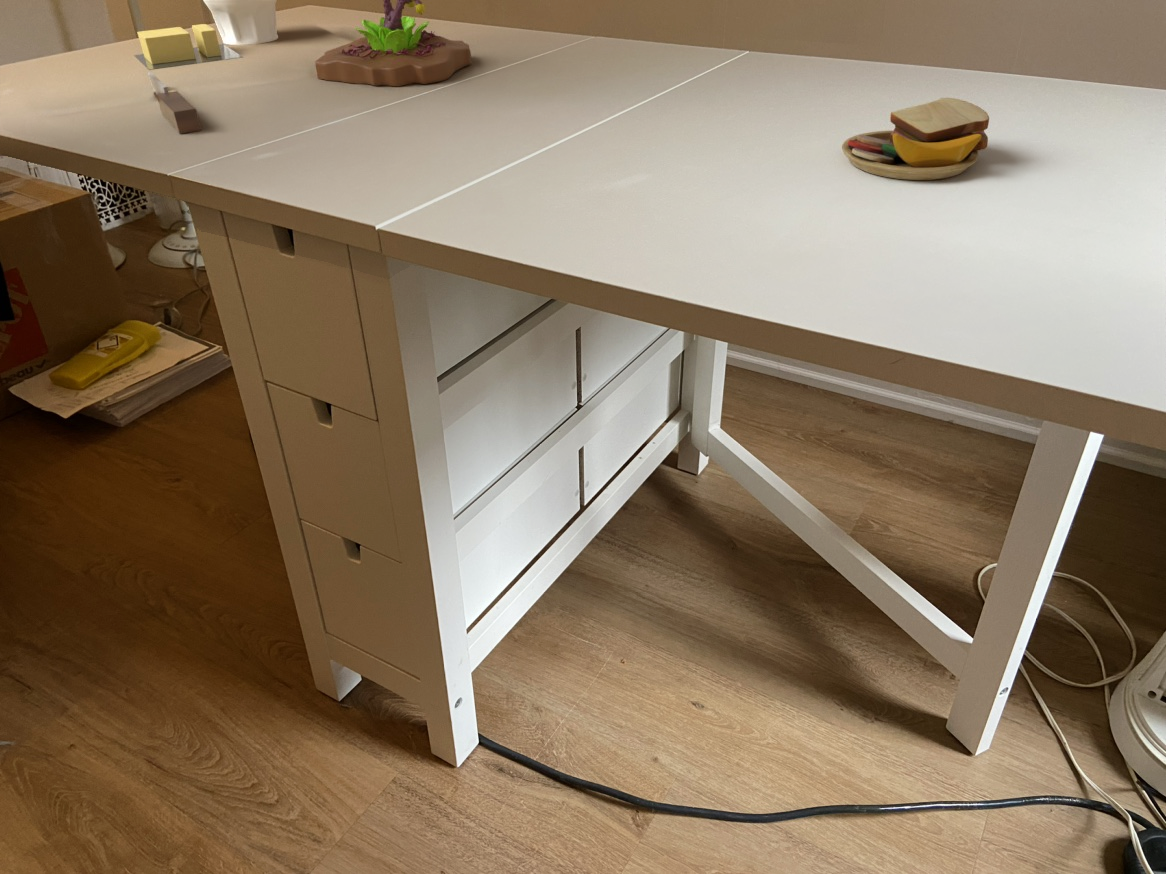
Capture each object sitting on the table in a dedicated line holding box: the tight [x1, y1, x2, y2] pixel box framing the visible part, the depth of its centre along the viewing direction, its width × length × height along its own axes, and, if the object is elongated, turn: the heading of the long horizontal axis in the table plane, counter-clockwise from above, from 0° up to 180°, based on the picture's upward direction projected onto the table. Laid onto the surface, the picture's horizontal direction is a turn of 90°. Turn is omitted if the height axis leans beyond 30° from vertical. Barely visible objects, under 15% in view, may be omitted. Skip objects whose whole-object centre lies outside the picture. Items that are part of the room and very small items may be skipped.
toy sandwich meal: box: [841, 97, 990, 181], centre depth 83 cm, size 12×14×5 cm
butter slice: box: [191, 23, 221, 57], centre depth 129 cm, size 2×6×4 cm, turn 32°
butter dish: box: [133, 43, 243, 71], centre depth 129 cm, size 13×12×1 cm
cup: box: [202, 0, 279, 46], centre depth 135 cm, size 12×12×11 cm
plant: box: [315, 0, 472, 87], centre depth 119 cm, size 20×20×11 cm
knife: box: [147, 71, 202, 135], centre depth 105 cm, size 20×2×3 cm, turn 32°
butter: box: [137, 26, 196, 65], centre depth 126 cm, size 6×6×4 cm
